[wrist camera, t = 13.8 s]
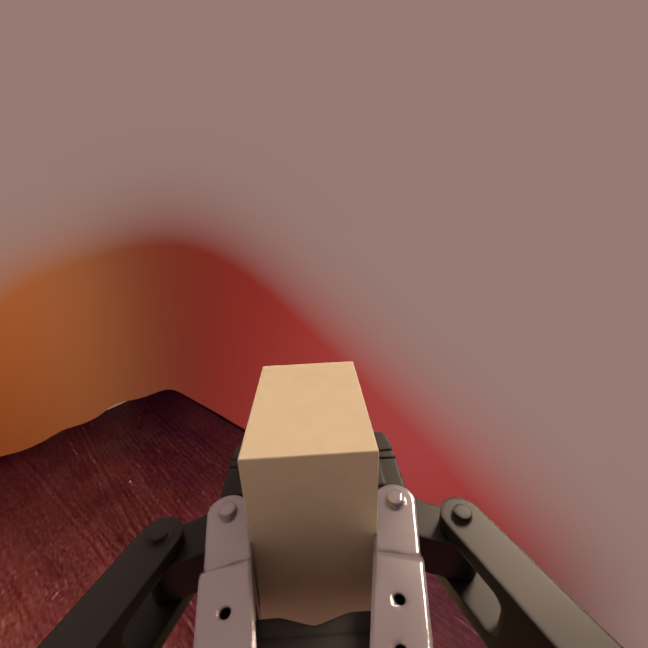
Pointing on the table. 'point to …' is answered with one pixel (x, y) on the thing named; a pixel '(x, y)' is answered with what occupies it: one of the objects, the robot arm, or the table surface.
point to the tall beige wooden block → (310, 492)
